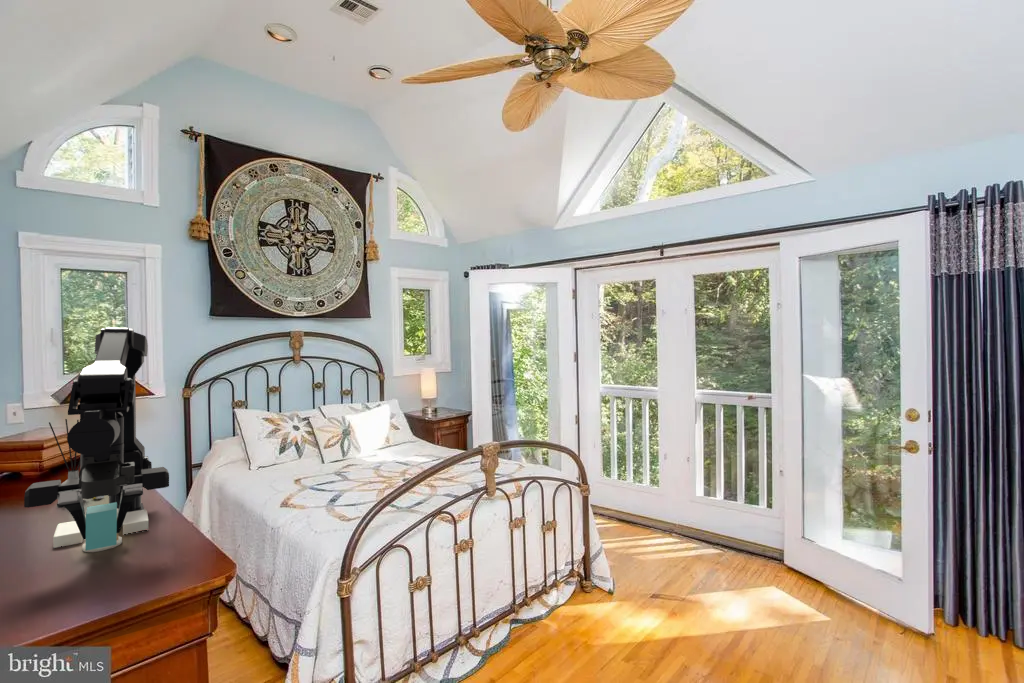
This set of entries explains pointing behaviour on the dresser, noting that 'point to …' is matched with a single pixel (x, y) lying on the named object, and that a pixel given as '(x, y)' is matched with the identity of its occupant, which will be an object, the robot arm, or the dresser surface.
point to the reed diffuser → (74, 474)
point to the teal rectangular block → (101, 526)
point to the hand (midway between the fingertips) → (101, 535)
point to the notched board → (71, 535)
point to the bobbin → (119, 541)
